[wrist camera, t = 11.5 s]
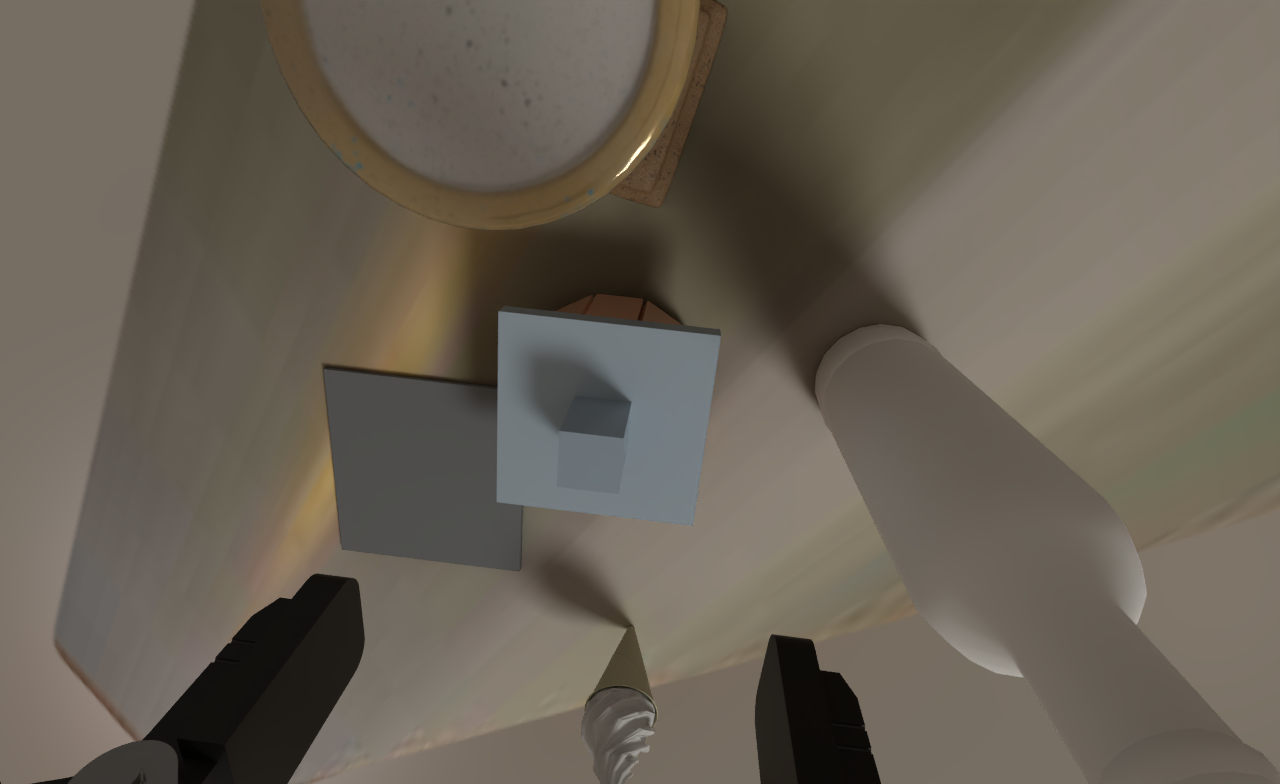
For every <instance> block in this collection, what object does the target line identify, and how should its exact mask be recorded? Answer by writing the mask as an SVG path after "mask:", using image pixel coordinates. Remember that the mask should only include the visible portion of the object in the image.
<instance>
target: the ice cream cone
mask: <svg viewBox="0 0 1280 784" xmlns="http://www.w3.org/2000/svg"><path fill="white" fill-rule="evenodd" d="M657 719H658V710H657V707H656V704H655V703H654V701H653V697H652V694H651V689H650V685H649V681H648V678H647V674H646V670H645V666H644V663H643V659H642V655H641V651H640V648H639V644H638V640H637V636H636V633H635V629H634V627H633V626H629V627H628V629H627V631H626V633H625V634H624V636H623V638H622V640H621V642H620V644H619V645H618V647H617V649H616V651H615V653H614V655H613V656H612V658H611V660H610V662H609V664H608V666H607V668H606V670H605V672H604V673H603V675H602V677H601V679H600V681H599V683H598V684H597V686H596V688H595V690H594V692H593V693H592V694H591V695H590V696H589V698H588V699H587V701H586V704H585V713H584V716H583V720H582V732H581V738H582V740H583V742H584V744H585V745H586V748H587V750H588V751H589V754H590V756H591V757H592V758H594V766H593V771H594V772H595V774H596V776H597V777H598V779H599V781H600V783H601V784H624V783H625V781H626V780H628V779H629V778H630V777H632V776H633V773H631V772H630V769H631V768H632V767H633V766H634V764H636V763H638V762H639V760H638V759H637V755H638V753H639V752H640V751H642V752H645V753H646V752H648V751H649V748H650V746H649V745H646V744H645V738H646V737H647V736H650V735H652V734H654V733H655V730H654V726H655V725H656V722H657Z"/></svg>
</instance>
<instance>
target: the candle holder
mask: <svg viewBox="0 0 1280 784" xmlns="http://www.w3.org/2000/svg"><path fill="white" fill-rule="evenodd" d="M259 4H260V8H261V12H262V16H263V20H264V24H265V28H266V32H267V37H268V40H269V43H270V45H271V48H272V50H273V53H274V56H275V58H276V61H277V64H278V66H279V69H280V71H281V74H282V76H283V78H284V80H285V82H286V84H287V86H288V88H289V90H290V91H291V93H292V95H293V97H294V99H295V101H296V103H297V105H298V107H299V108H300V110H301V111H302V113H303V114H304V116H305V117H306V119H307V120H308V121H309V123H310V124H311V126H312V127H313V129H314V130H315V131H316V133H317V134H318V136H319V137H320V139H321V140H322V141H323V142H324V143H325V144H326V145H327V146H328V147H329V149H330V150H331V151H332V152H333V153H334V154H335V155H336V156H337V157H338V158H339V160H340V161H341V162H342V163H343V164H344V165H345V166H346V167H347V168H348V169H350V170H351V171H352V172H353V173H354V174H356V175H357V176H358V177H359V178H360V179H362V180H363V181H364V182H365V183H366V184H367V185H369V186H370V187H371V188H372V189H374V190H376V191H377V192H379V193H380V194H382V195H384V196H385V197H387V198H388V199H390V200H392V201H393V202H395V203H396V204H398V205H399V206H402V207H404V208H406V209H408V210H411V211H413V212H415V213H417V214H420V215H422V216H424V217H426V218H429V219H432V220H436V221H439V222H443V223H447V224H450V225H454V226H458V227H464V228H473V229H482V230H507V229H524V228H528V227H533V226H537V225H542V224H546V223H551V222H554V221H556V220H559V219H561V218H564V217H566V216H569V215H571V214H573V213H576V212H578V211H581V210H582V209H584V208H586V207H587V206H589V205H590V204H592V203H594V202H595V201H597V200H599V199H600V198H602V197H603V196H605V195H607V194H608V193H611V194H614V195H616V196H619V197H622V198H625V199H627V200H630V201H634V202H637V203H641V204H644V205H647V206H651V207H660V205H661V204H662V203H663V201H664V199H665V197H666V194H667V192H668V189H669V187H670V184H671V182H672V179H673V177H674V174H675V171H676V168H677V165H678V162H679V160H680V157H681V154H682V151H683V148H684V145H685V142H686V139H687V137H688V134H689V131H690V128H691V125H692V122H693V119H694V116H695V113H696V111H697V108H698V105H699V102H700V99H701V96H702V93H703V90H704V88H705V85H706V82H707V79H708V76H709V73H710V70H711V67H712V64H713V62H714V59H715V56H716V53H717V50H718V47H719V43H720V40H721V37H722V33H723V30H724V27H725V23H726V20H727V9H728V8H726V7H725V6H724V5H722V4H721V3H719V2H716V1H714V0H259Z"/></svg>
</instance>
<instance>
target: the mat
mask: <svg viewBox="0 0 1280 784" xmlns="http://www.w3.org/2000/svg"><path fill="white" fill-rule="evenodd" d="M324 378H325V388H326V398H327V408H328V417H329V427H330V437H331V447H332V457H333V467H334V476H335V486H336V496H337V506H338V516H339V526H340V536H341V545H342V550H350V551H358V552H366V553H374V554H382V555H390V556H398V557H406V558H414V559H423V560H431V561H439V562H447V563H455V564H463V565H471V566H479V567H487V568H495V569H503V570H511V571H519V572H520V570H521V554H522V518H523V505H516V504H507V503H499V502H497V407H498V387H495V386H487V385H478V384H469V383H461V382H452V381H443V380H434V379H426V378H417V377H408V376H400V375H391V374H382V373H374V372H365V371H356V370H347V369H339V368H330V367H326V368H324Z"/></svg>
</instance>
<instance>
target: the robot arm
mask: <svg viewBox="0 0 1280 784" xmlns="http://www.w3.org/2000/svg"><path fill="white" fill-rule="evenodd" d="M364 641H365V636H364V627H363V617H362V608H361V599H360V590H359V584H358V582H357V580H356V579H354V578H347V577H339V576H332V575H324V574H314V575H312V576H311V577H310V578H309V579H308V580H307V581H306V582H305V583H304V585H303V586H302V587H301V588H300V589H299V591H298V592H297V593H296V594H295V595H294V597H293V598H292V599H287V598H279V599H277V600H276V601H274V602H273V603H271V604H270V605H268V606H267V607H265V608H263V609H262V610H260V611H259V612H257V613H256V614H254V615H253V616H252V617H251V618H250V619H249V620H248V621H247V622H246V623H245V625H244V626H243V627H242V628H241V629H240V630H239V631H238V633H237V634H236V635H235V636H234V637H233V638H232V642H231V643H228V644H227V645H226V646H225V647H224V648H223V650H222V651H221V652H220V653H219V654H218V655H217V656H216V659H215V661H214V663H212V662H211V663H210V664H209V666H208V667H207V668H206V669H205V670H204V671H203V672H202V673H201V675H200V676H199V677H198V678H197V679H196V680H195V681H194V683H193V684H192V685H191V686H190V687H189V688H188V689H187V691H186V692H185V693H184V694H183V695H182V696H181V697H180V698H179V700H178V701H177V702H176V703H175V704H174V705H173V706H172V708H171V709H170V710H169V711H168V712H167V713H166V714H165V716H164V717H163V718H162V719H161V720H160V721H159V722H158V723H157V725H156V726H155V727H154V728H153V729H152V730H151V731H150V733H149V734H148V735H147V736H146V737H145V738H144V739H143V740H142V741H136V742H131V743H128V744H125V745H121V746H119V747H117V748H114V749H112V750H110V751H108V752H106V753H104V754H102V755H100V756H99V757H97V758H96V759H94V760H93V761H92V762H90V763H89V764H87V765H86V766H85V767H83V768H82V769H81V770H80V771H79V772H78V773H77V774H76V775H75V776H73V777H69V778H63V779H57V780H52V781H45V782H39V783H33V784H288V782H289V780H290V779H291V777H292V775H293V774H294V772H295V770H296V769H297V767H298V765H299V764H300V762H301V761H302V759H303V757H304V756H305V754H306V752H307V751H308V749H309V747H310V746H311V744H312V742H313V741H314V739H315V737H316V736H317V734H318V733H319V731H320V729H321V728H322V726H323V724H324V723H325V721H326V719H327V718H328V716H329V714H330V713H331V711H332V709H333V708H334V706H335V705H336V703H337V701H338V700H339V698H340V696H341V695H342V693H343V691H344V690H345V688H346V686H347V685H348V683H349V681H350V680H351V678H352V677H353V675H354V673H355V671H356V670H357V668H358V665H359V663H360V660H361V657H362V653H363V649H364ZM755 729H756V739H757V749H758V760H759V769H760V780H761V784H881V782H880V778H879V774H878V771H877V767H876V764H875V760H874V757H873V754H871V746H870V742H869V738H868V735H867V731H865V724H864V720H863V717H862V713H861V710H860V706H859V702H858V699H857V697H856V696H855V694H854V693H853V691H852V690H851V689H850V687H849V686H848V684H847V683H846V681H845V680H844V679H843V677H842V676H841V674H840V673H836V672H827V671H821V670H820V669H819V664H818V661H817V655H816V651H815V647H814V644H813V641H812V640H811V639H804V638H797V637H789V636H781V635H773V634H772V635H771V637H770V639H769V642H768V647H767V651H766V655H765V659H764V664H763V668H762V672H761V677H760V681H759V685H758V689H757V695H756V705H755ZM0 784H1V782H0Z"/></svg>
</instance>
